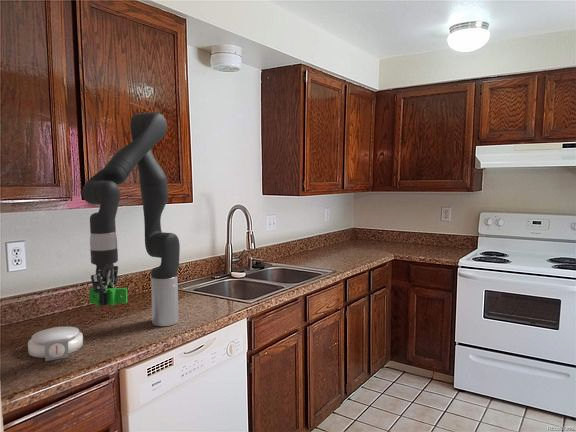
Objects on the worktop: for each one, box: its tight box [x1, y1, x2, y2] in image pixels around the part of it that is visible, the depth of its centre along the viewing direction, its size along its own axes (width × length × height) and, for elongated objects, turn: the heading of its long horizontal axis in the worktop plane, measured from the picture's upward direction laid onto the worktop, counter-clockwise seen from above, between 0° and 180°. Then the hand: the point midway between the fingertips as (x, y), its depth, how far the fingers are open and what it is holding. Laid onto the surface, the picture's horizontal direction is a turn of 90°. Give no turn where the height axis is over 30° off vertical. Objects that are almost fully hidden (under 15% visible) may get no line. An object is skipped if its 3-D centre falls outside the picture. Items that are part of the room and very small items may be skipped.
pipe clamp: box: [89, 287, 128, 307], centre depth 130 cm, size 11×4×5 cm, turn 89°
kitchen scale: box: [27, 326, 84, 362], centre depth 132 cm, size 18×15×5 cm
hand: (106, 302), depth 130 cm, fingers closed on pipe clamp, 3 cm apart
